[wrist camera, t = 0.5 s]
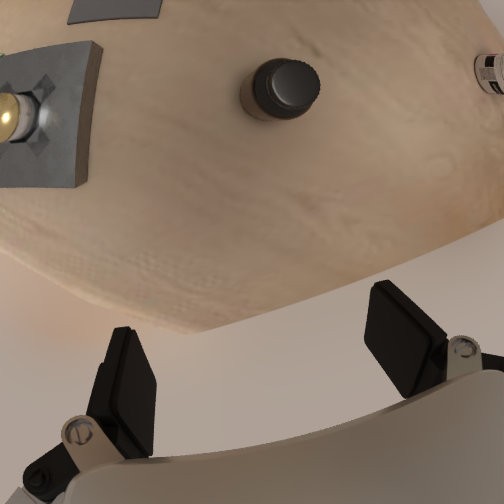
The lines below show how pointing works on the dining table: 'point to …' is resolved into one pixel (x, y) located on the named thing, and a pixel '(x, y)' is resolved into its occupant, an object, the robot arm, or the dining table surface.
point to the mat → (112, 10)
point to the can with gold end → (18, 116)
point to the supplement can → (491, 72)
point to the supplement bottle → (280, 90)
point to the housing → (51, 114)
